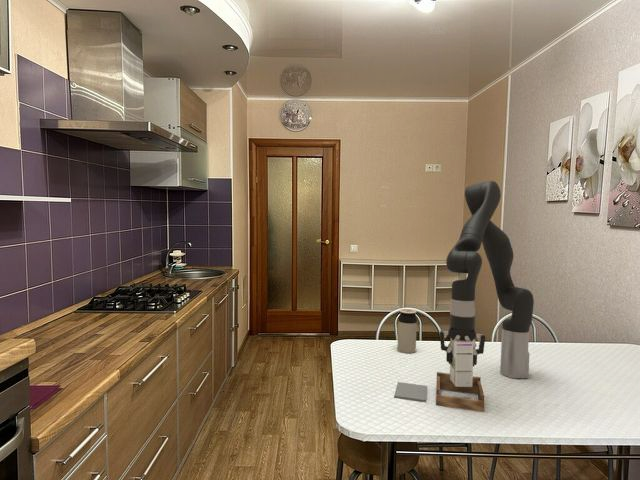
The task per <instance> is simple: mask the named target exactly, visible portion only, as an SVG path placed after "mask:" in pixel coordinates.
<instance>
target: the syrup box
mask: <svg viewBox="0 0 640 480" xmlns="http://www.w3.org/2000/svg"><path fill="white" fill-rule="evenodd" d="M450 341H451V342H452V341H453V340H452V339H451V338H450ZM453 344H454V347H453V349H452V350H451V364H449V373H450V380H451V382H452V383H453V384H454V386H456V387H472V382H473V374H474V367H473V342H472V341H471V342H469V341H466V340H458V341H454V343H453Z"/></svg>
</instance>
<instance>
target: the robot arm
mask: <svg viewBox="0 0 640 480" xmlns="http://www.w3.org/2000/svg"><path fill="white" fill-rule="evenodd" d="M501 194H502V192H501V188H500V186H499V184H498V183H497V182H496V181H494V180H486V181H482V182H479V183H478V182H477V183H474V184H471V185H468V186H467V187H465V189H464V197H465V203H466V205H467V208H468V209H469V212H470V214H471V216H470V217H469V218H468V220H466V222H465V223H464V225H463V227H462V229H461V232H460V235H459V239H458V241H457V242H456V243H455V244H454V246H453V247H452V248H451V249H450V251H449V252H448V255H447V258H446V260H445V265H446V268H447V269H448V271H450V272H451V273H456V274H457V273H459V274H467V277H466V278H465V279H457V280H453V281H452V284H451V301H450V307H449V308H450V310H449V329H448V330H443V329H441V330H439V341H440V342H439V343H440V350H441V351H445V353H446V358H445V359H446V362H447V363H448V365H450V364H451V350H452V349H453V347H454V344H453V343H454V341H458V340H466V341H469V342H471V341H473V340H475V339H476V338H477V341H478V342H479V343H478V344H479V345H478V348H476V346H475V347H474V345H473V368H474V367H475V366H476V365H477V363H478V355H482V354H484V350H485V345H486V344H485V343H486V336H485V334H484V333H476V329H475V328H476V314H477V313H476V302H475V301H476V285H477V282H478V281H477V280H478V277H479V275H480V271H481V268H482V266H483V265H482V264H483V258H482V255H480V253H479V252H478V251H479V250H480V248H481V246H483V250H484V254H485V256H486V259H487V261H488V264H489V267H490V270H491V274H492V277H493V282H494V284H495V290H496V294H497V295H496V296H497V299H498V302H499V304H500V306H501V307H502V308H503V309H505V310H507V311H511V317H510V318H507V319H504V320H503V321H502V324H501V344H500V346H501V347H500V365H499V366H500V367H499V368H500V371H499V372H500V375H502V376H505V377H508V378H511V379H517V378H523V379H529V375H530V373H529V371H530V354H531V353H530V352H529V342H530V328H531V325H532V322H533V315H534V305H535V304H534V301H535V299H534V295H533V293H532V292H531V290H528V289H527V288H523V287H517V286H515V284H514V281H513V278H512V275H511V267H512V265H513V263H514V262H513V261H514V251H513V247H512V245H511V244H512V243H511V240H510V237H508V235H507V234H506V233H505V232H504V231H503V230H502V229H501V228H500V227H499V226H497V225H496V224H495V223H494V222H493V221H492V220H491V219H492V217H493V216H494V214H495V212H496V209H497V208H498V206H499V204H500V201H501V197H502V196H501ZM447 336H448V337H450V341H449V343H448V345H445V339H446V338H447ZM451 339H452V340H453V341H452V342H451Z"/></svg>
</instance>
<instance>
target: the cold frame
mask: <svg viewBox="0 0 640 480" xmlns="http://www.w3.org/2000/svg"><path fill="white" fill-rule="evenodd" d="M435 389H436V391H435V393H436V394H435V406H440V407H441V406H442V407H448V408H453V409H454V408H456V409H462V410H468V411H475V412H483V413H484V412H485V393H484V389H483V386H482V378H481V377H480V376H473V382H472V387H456V386H454V384H453V383H452V382H451V380H450V372H449V373H448V372H441V371H436V387H435ZM441 390H444V391H449V392H450V391H451V392H457V393H467V394H473V395H476V396H477V399H473V398H467V397H460V396H459V397H458V396H452V395H445V394H440V393H441V392H440V391H441Z"/></svg>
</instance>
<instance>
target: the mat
mask: <svg viewBox="0 0 640 480" xmlns="http://www.w3.org/2000/svg"><path fill="white" fill-rule="evenodd" d="M427 395H428V385H423V384H418V383H417V384H416V383H415V384H414V383H408V382H403V381H402V382H401V381H397V384H396V389H395V392H394V395H393V398H395V399H402V400H408V401H415V402H421V403H427Z"/></svg>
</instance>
